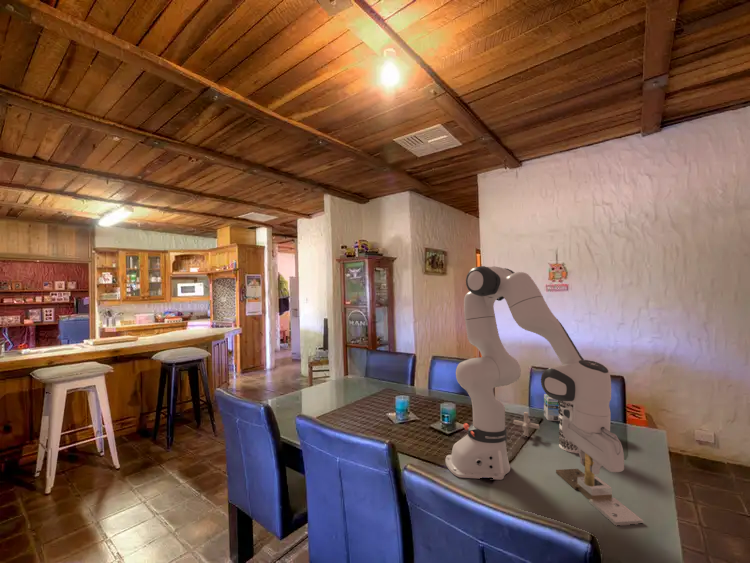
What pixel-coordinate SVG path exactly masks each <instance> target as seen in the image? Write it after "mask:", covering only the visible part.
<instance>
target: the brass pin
mask: <svg viewBox="0 0 750 563" xmlns="http://www.w3.org/2000/svg"><path fill="white" fill-rule="evenodd" d="M593 464H594V462H593V458H591V457H590V456H589V455H587V454H586V453H585V466H584V483H585V484H586V485H588V486H591V487H593V486H594V478H595V476H596V474H593V473H592V472H591V471H590V465H593Z"/></svg>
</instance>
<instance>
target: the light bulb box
mask: <svg viewBox="0 0 750 563" xmlns="http://www.w3.org/2000/svg"><path fill="white" fill-rule="evenodd" d="M558 406H559V405H558V400H556V399H553V398H551V397H549V396H548V395H547V394H546V393H544V394H543V417H544V418H546V420H547V421H552V422H553V421H554V422H560V418H559V413H558V410H559V409H558Z"/></svg>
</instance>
